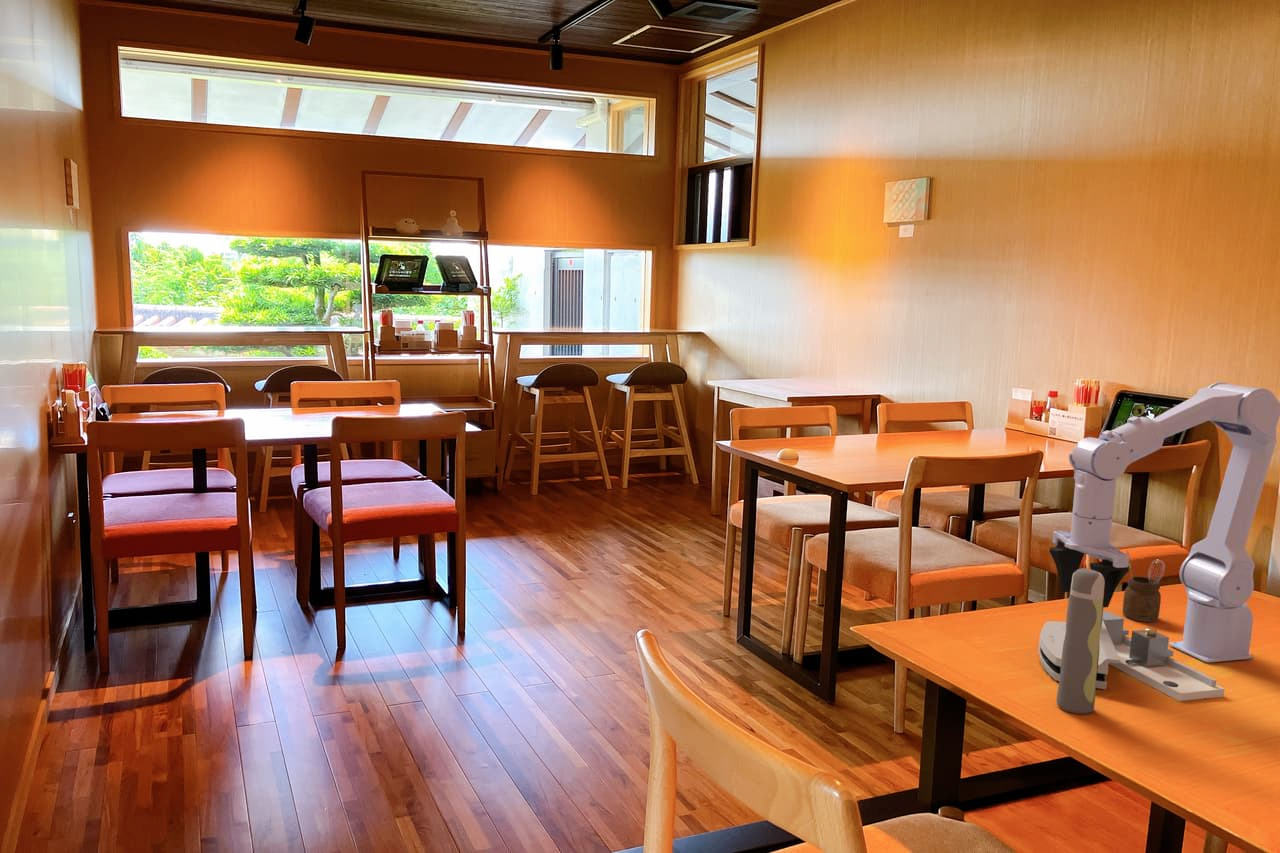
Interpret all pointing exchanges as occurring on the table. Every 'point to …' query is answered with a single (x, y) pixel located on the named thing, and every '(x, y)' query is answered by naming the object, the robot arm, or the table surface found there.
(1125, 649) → the board
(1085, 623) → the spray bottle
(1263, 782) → the table surface
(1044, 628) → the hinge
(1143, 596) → the utensil holder
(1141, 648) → the grey slider block
